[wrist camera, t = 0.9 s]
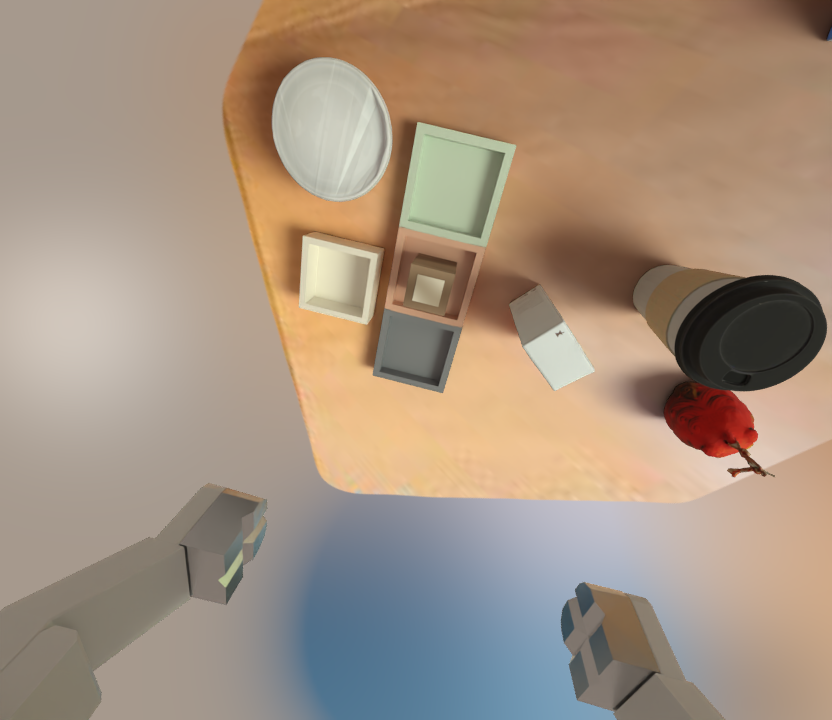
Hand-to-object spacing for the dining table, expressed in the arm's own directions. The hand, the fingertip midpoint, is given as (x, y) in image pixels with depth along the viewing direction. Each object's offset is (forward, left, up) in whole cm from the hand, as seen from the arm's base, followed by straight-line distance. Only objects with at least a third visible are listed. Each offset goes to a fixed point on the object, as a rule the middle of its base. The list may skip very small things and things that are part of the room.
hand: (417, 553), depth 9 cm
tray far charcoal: (+11, -2, -36) cm, 38 cm away
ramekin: (-10, -14, -36) cm, 40 cm away
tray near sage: (-8, -2, -36) cm, 37 cm away
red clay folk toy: (+9, +33, -36) cm, 50 cm away
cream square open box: (+4, -13, -36) cm, 38 cm away
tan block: (+2, -2, -35) cm, 35 cm away
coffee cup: (-3, +23, -36) cm, 43 cm away
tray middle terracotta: (+2, -2, -36) cm, 36 cm away
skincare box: (+3, +11, -36) cm, 38 cm away
